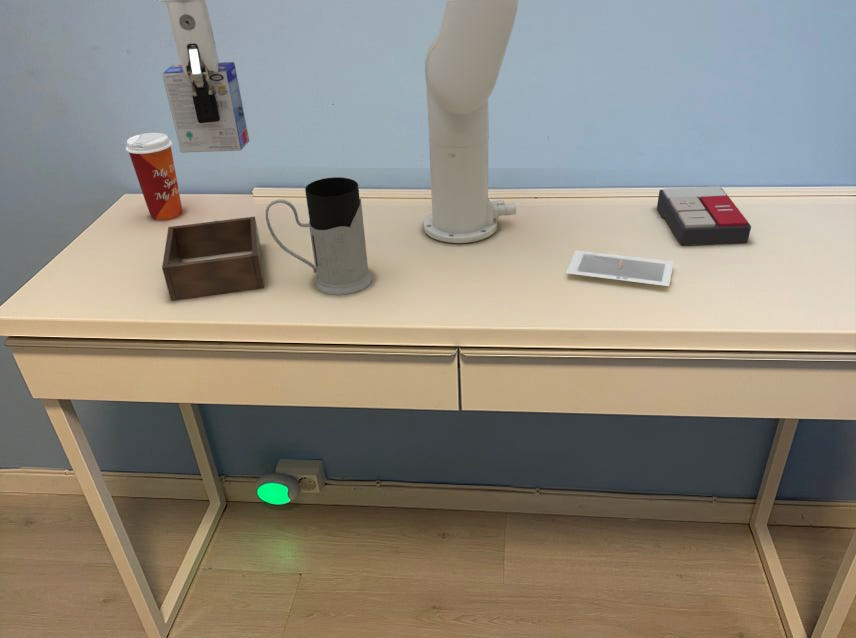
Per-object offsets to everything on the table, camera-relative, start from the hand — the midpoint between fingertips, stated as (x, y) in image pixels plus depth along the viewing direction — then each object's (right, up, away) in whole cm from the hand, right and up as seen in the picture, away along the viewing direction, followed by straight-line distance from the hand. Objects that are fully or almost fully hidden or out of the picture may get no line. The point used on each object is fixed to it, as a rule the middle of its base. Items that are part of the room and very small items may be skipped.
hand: (209, 114), depth 115 cm
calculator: (+80, -15, +12) cm, 82 cm away
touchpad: (+63, -25, -2) cm, 68 cm away
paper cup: (-15, -11, +22) cm, 29 cm away
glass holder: (+18, -26, -1) cm, 32 cm away
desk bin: (+1, -24, +2) cm, 24 cm away
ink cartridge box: (0, -4, +3) cm, 5 cm away
